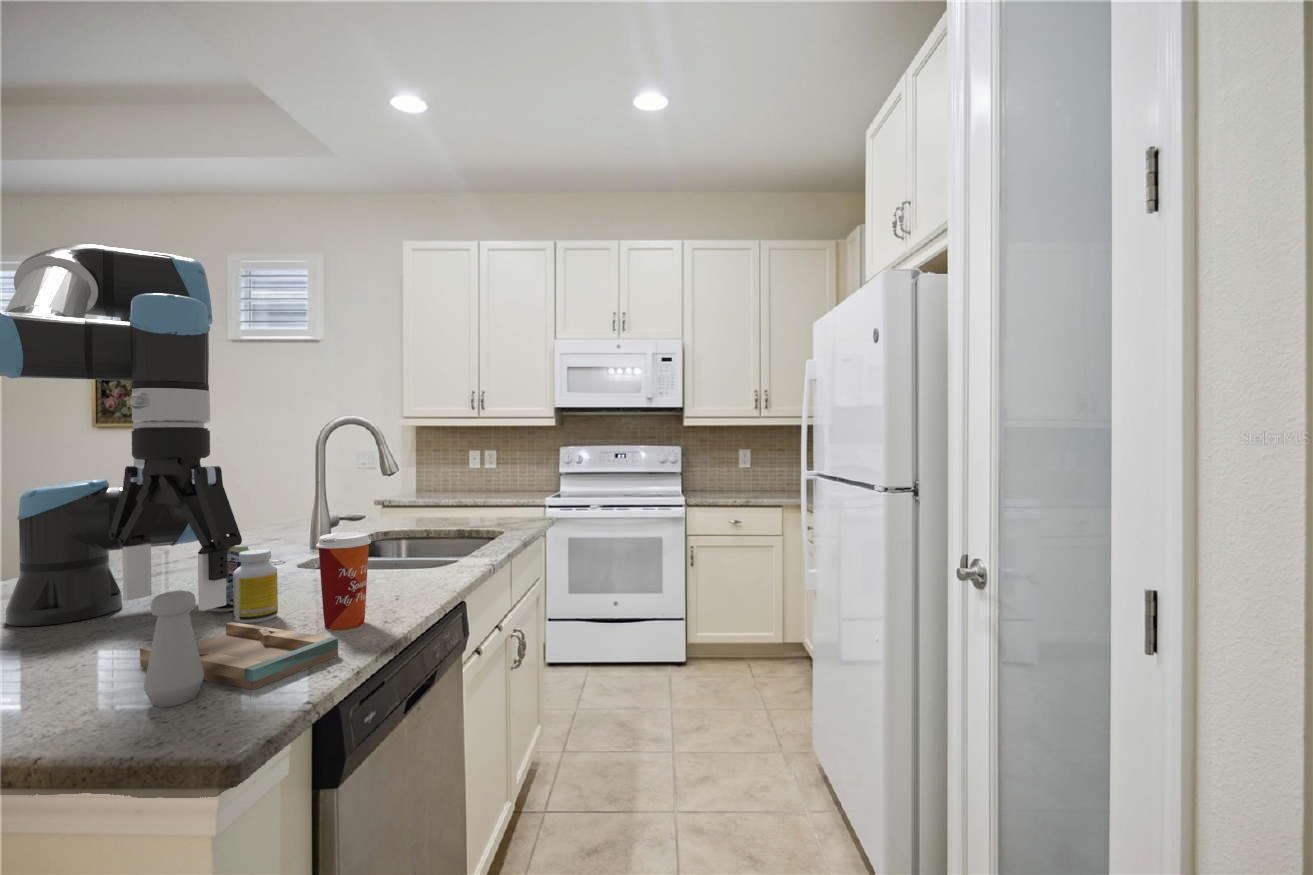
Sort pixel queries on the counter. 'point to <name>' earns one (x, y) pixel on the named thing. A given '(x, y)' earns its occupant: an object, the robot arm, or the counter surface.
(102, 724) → the counter surface
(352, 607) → the coffee cup
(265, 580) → the pill bottle
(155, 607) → the salt shaker
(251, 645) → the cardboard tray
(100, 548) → the robot arm
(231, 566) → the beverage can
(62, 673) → the counter surface
